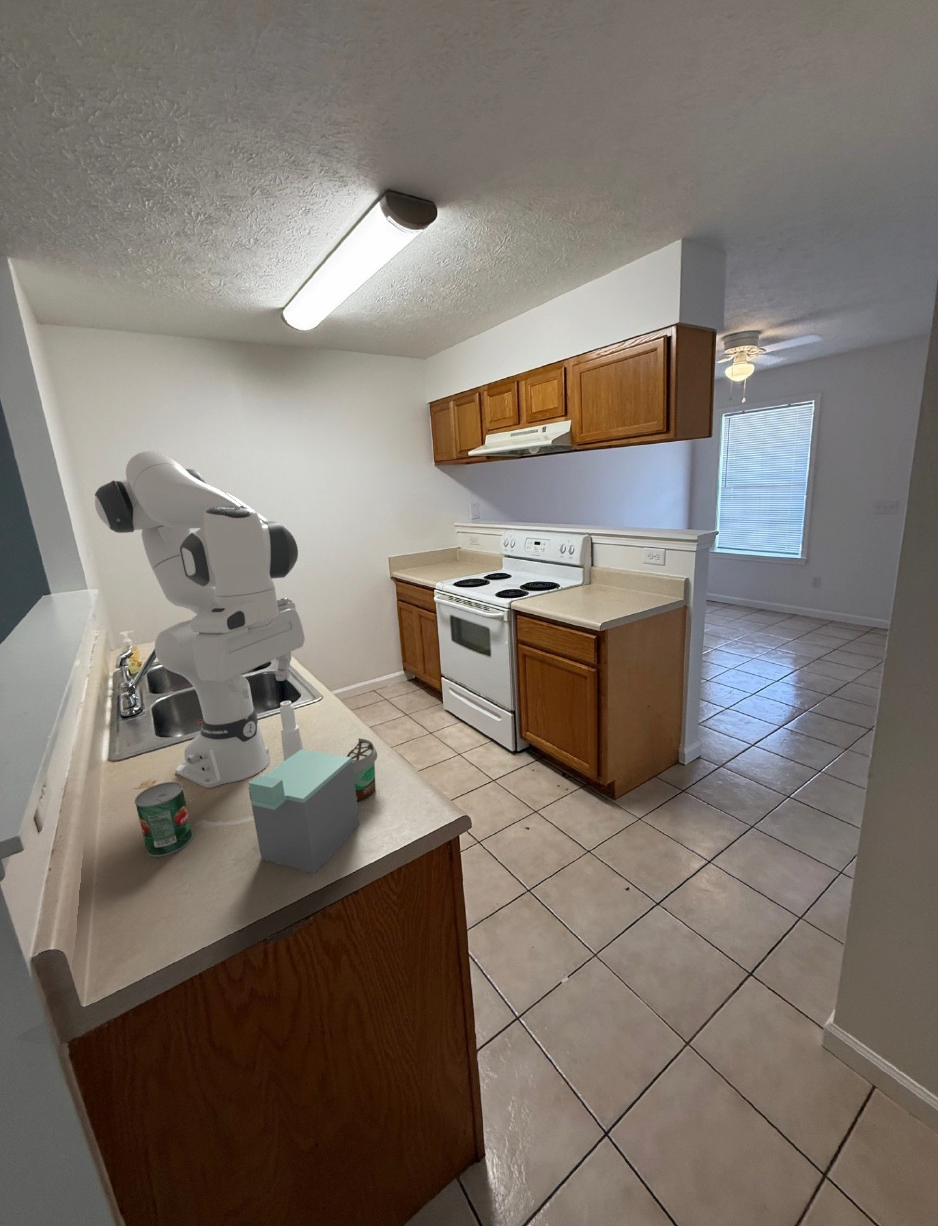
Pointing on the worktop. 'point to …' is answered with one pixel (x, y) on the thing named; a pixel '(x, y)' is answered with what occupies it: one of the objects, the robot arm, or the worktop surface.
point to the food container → (363, 769)
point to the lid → (296, 778)
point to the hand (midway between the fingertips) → (263, 689)
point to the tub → (309, 825)
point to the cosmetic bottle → (289, 730)
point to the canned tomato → (164, 818)
